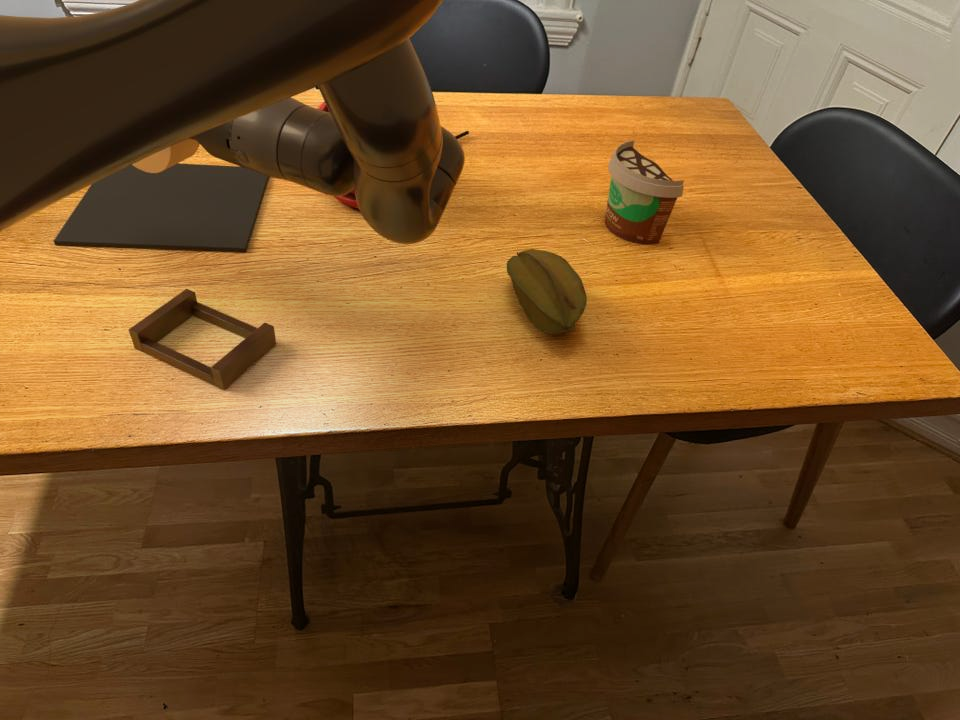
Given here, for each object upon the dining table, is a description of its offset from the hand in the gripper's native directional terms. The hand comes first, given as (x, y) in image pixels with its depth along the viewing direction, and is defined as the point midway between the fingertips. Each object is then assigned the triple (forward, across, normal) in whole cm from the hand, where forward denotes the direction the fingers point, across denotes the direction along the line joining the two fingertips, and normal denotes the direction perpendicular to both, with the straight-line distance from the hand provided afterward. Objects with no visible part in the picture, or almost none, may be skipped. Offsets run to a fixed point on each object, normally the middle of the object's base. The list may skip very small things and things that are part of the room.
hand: (126, 85), depth 70 cm
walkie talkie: (-14, -42, +20) cm, 48 cm away
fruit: (-43, -14, +20) cm, 49 cm away
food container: (-45, -37, +20) cm, 62 cm away
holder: (-15, +11, +20) cm, 27 cm away
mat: (+7, -8, +20) cm, 22 cm away
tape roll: (-2, 0, +8) cm, 8 cm away
